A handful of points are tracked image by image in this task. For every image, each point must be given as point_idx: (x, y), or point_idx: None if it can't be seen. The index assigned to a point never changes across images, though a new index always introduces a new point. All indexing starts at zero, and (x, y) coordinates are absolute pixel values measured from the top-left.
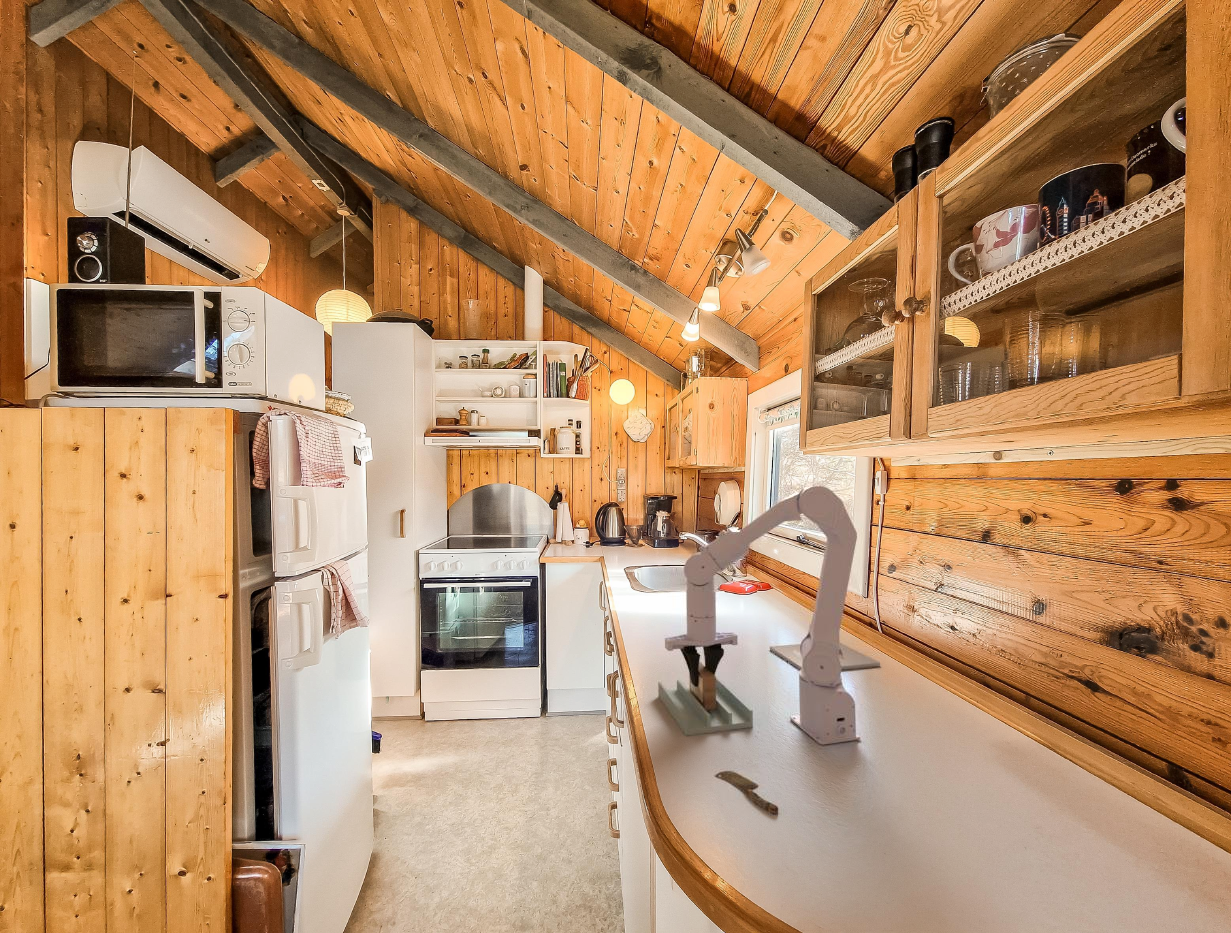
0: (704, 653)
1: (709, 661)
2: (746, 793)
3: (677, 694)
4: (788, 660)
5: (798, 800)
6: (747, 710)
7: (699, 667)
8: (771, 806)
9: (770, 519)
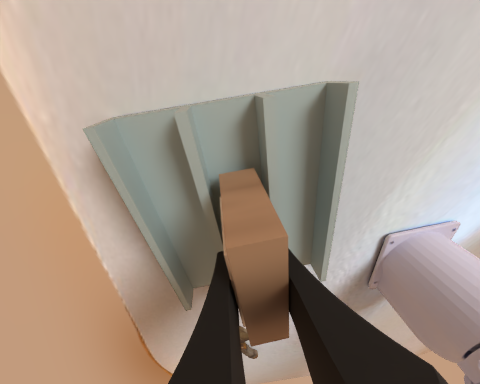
0: (321, 345)
1: (307, 349)
2: None
3: (179, 147)
4: None
5: (281, 341)
6: (319, 270)
7: (259, 295)
8: (252, 357)
9: None
